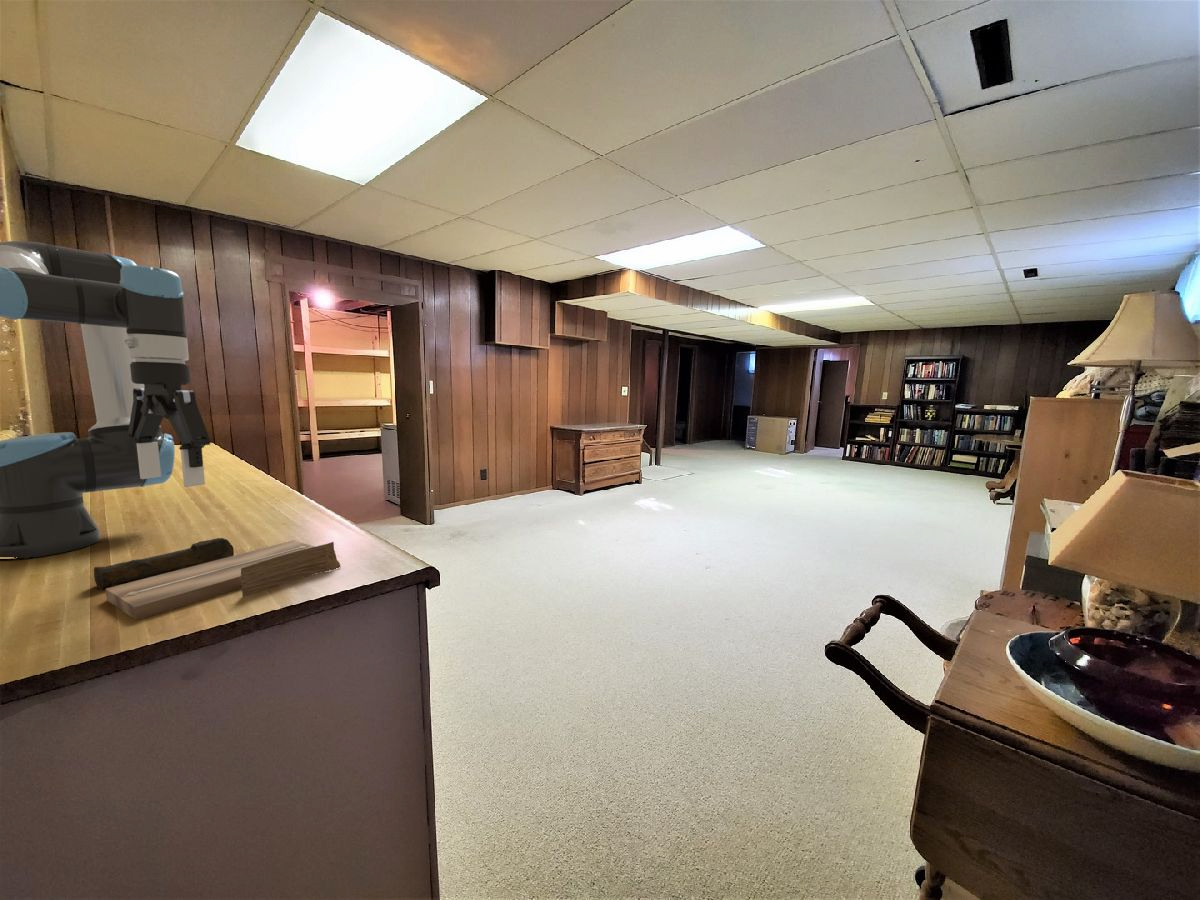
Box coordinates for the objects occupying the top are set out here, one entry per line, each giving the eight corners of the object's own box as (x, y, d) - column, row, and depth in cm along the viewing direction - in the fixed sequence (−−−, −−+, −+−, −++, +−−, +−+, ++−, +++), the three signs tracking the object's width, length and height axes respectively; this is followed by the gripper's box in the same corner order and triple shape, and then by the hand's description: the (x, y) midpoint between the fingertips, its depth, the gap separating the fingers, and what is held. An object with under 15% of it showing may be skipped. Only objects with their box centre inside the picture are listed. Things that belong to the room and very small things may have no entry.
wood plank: (246, 598, 75) (244, 569, 74) (240, 595, 76) (238, 566, 75) (340, 568, 88) (339, 543, 87) (334, 566, 89) (332, 541, 88)
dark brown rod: (98, 593, 76) (94, 566, 75) (94, 587, 78) (90, 560, 78) (238, 561, 91) (236, 538, 90) (231, 556, 93) (229, 534, 93)
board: (106, 600, 73) (105, 587, 73) (294, 549, 97) (294, 539, 97) (136, 620, 67) (134, 606, 67) (328, 560, 91) (327, 550, 91)
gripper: (93, 359, 81) (107, 478, 84) (175, 360, 72) (188, 493, 75) (147, 362, 88) (159, 471, 91) (229, 363, 79) (239, 485, 82)
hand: (172, 481), depth 83 cm, fingers open, 13 cm apart
